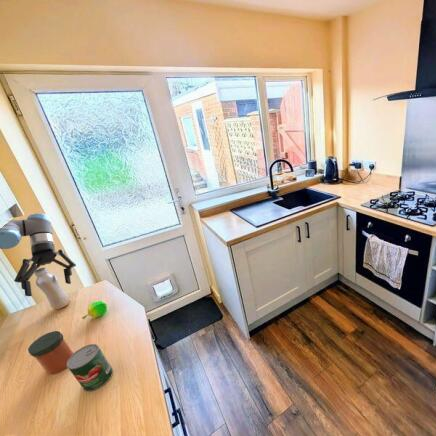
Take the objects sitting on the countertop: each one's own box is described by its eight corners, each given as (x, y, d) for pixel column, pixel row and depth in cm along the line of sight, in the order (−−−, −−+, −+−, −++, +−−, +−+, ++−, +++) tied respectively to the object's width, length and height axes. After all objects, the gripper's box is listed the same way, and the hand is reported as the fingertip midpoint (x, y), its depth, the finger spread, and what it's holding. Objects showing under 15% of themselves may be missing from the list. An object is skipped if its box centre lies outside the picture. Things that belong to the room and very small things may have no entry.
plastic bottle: (49, 310, 110) (24, 274, 101) (65, 299, 116) (42, 265, 107) (60, 312, 108) (35, 275, 100) (75, 301, 114) (53, 265, 106)
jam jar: (41, 377, 80) (23, 356, 76) (55, 357, 87) (39, 336, 82) (67, 370, 82) (51, 349, 77) (79, 350, 88) (65, 330, 84)
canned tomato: (86, 397, 73) (68, 374, 68) (80, 381, 78) (63, 358, 73) (116, 376, 78) (101, 352, 73) (109, 362, 83) (95, 339, 78)
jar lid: (24, 360, 76) (20, 356, 75) (41, 338, 83) (38, 334, 82) (54, 352, 77) (51, 348, 77) (68, 331, 85) (66, 328, 84)
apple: (101, 295, 104) (76, 309, 97) (110, 307, 103) (85, 322, 96) (102, 301, 109) (78, 315, 102) (110, 312, 108) (86, 327, 101)
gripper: (79, 239, 120) (87, 279, 114) (12, 256, 110) (17, 302, 104) (72, 233, 114) (79, 276, 108) (-1, 252, 104) (3, 300, 98)
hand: (48, 289), depth 106 cm, fingers open, 13 cm apart
